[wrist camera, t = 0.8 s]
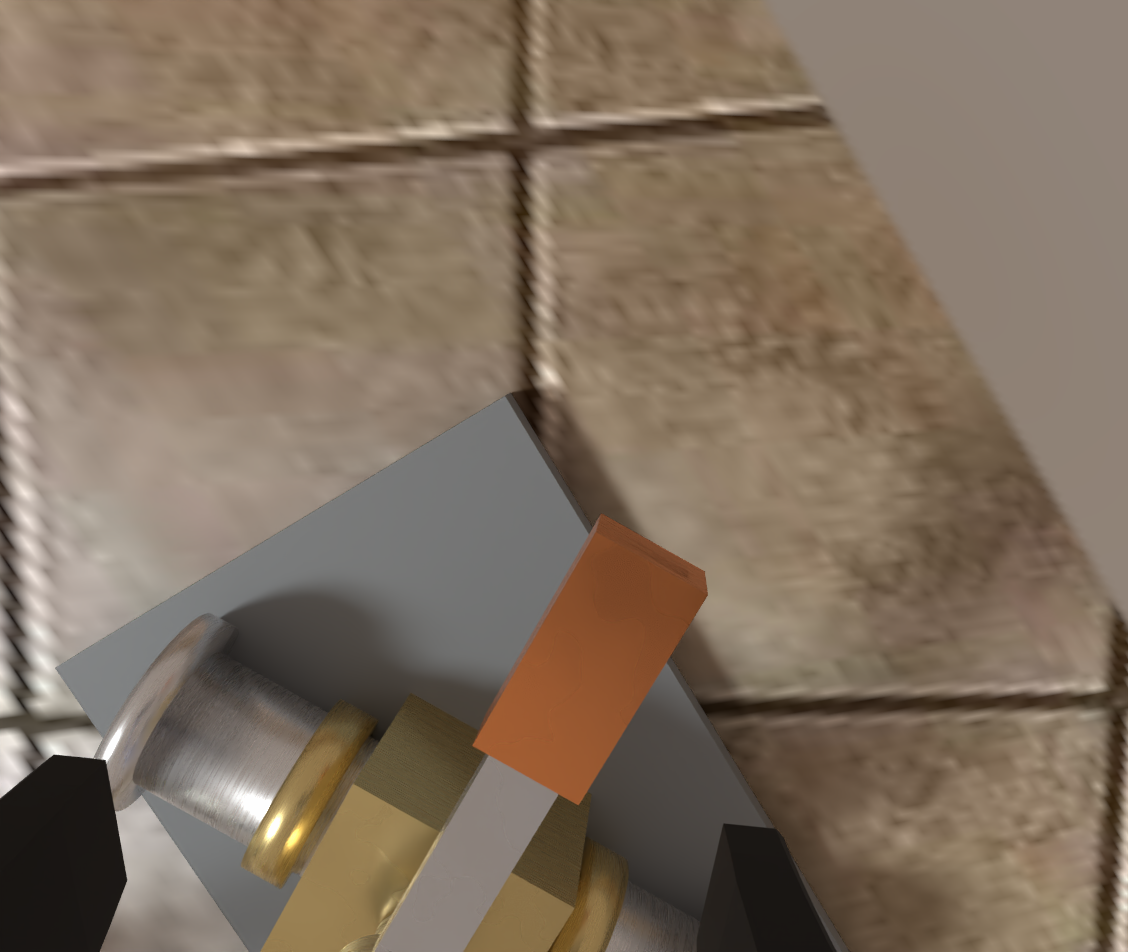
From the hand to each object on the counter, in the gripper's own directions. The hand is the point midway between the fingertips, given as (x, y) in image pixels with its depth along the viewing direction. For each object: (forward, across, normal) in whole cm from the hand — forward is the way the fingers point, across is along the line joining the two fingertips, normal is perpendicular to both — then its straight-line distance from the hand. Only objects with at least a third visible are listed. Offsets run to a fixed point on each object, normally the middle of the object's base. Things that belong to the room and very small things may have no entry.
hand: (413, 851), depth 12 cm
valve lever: (+7, -1, +7) cm, 10 cm away
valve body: (+14, +1, +14) cm, 20 cm away
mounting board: (+14, +1, +14) cm, 20 cm away
